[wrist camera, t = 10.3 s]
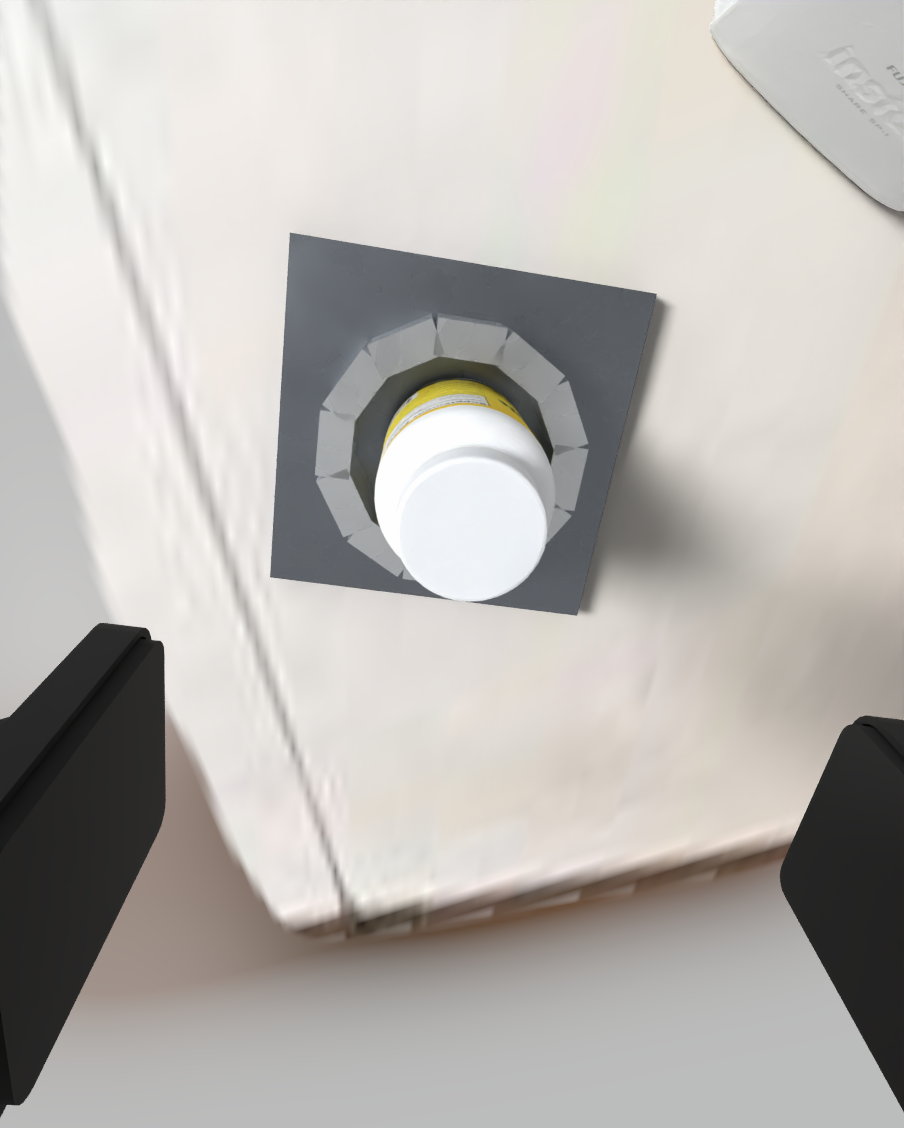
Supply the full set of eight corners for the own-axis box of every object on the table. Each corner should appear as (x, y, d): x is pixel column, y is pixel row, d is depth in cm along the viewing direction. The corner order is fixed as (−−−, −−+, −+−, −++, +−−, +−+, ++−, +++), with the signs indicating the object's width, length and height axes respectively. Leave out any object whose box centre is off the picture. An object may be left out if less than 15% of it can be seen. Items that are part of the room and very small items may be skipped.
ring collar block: (648, 292, 26) (679, 296, 23) (572, 605, 31) (589, 644, 28) (295, 234, 25) (275, 229, 22) (275, 567, 30) (256, 604, 27)
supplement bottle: (536, 498, 28) (587, 608, 19) (403, 524, 28) (390, 645, 19) (514, 359, 26) (560, 409, 17) (370, 390, 26) (339, 455, 17)
